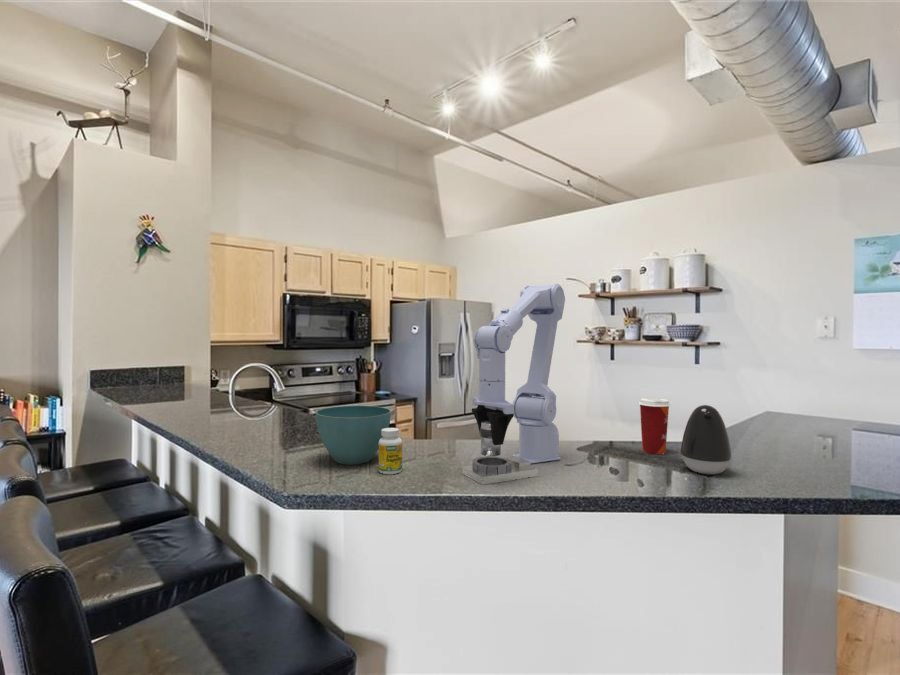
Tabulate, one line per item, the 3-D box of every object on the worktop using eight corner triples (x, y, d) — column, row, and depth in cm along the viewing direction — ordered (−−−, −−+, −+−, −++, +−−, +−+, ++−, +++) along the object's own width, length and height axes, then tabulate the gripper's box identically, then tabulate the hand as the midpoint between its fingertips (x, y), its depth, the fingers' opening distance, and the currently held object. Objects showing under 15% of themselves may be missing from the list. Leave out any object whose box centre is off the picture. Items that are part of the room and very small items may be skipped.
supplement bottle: (395, 466, 114) (395, 426, 114) (406, 472, 109) (406, 430, 109) (374, 470, 111) (374, 428, 111) (384, 476, 106) (384, 432, 106)
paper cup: (674, 455, 125) (675, 401, 125) (644, 455, 125) (645, 401, 125) (662, 448, 133) (662, 397, 132) (633, 448, 133) (634, 397, 132)
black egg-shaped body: (683, 475, 108) (683, 407, 107) (678, 463, 117) (679, 401, 117) (735, 480, 104) (736, 409, 104) (726, 467, 114) (727, 403, 114)
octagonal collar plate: (514, 466, 115) (514, 452, 115) (537, 476, 107) (537, 461, 107) (462, 473, 109) (462, 459, 109) (482, 484, 101) (482, 469, 100)
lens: (494, 449, 110) (495, 418, 109) (505, 455, 105) (505, 422, 105) (476, 451, 108) (477, 419, 108) (485, 457, 104) (486, 423, 103)
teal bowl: (383, 449, 131) (383, 403, 131) (397, 466, 114) (397, 414, 114) (313, 454, 125) (313, 406, 125) (317, 473, 108) (317, 419, 108)
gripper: (460, 378, 111) (460, 437, 111) (493, 384, 98) (493, 451, 98) (487, 377, 114) (487, 434, 115) (522, 382, 101) (522, 447, 101)
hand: (491, 442), depth 107 cm, fingers closed on lens, 5 cm apart
